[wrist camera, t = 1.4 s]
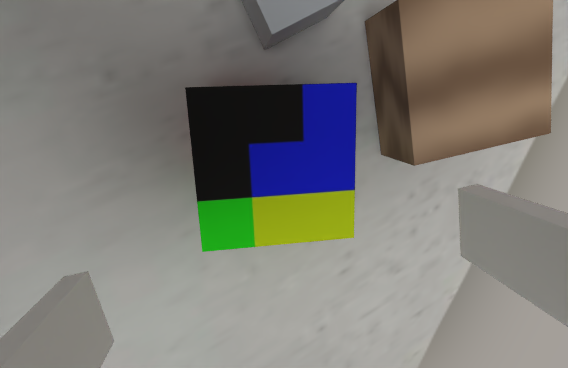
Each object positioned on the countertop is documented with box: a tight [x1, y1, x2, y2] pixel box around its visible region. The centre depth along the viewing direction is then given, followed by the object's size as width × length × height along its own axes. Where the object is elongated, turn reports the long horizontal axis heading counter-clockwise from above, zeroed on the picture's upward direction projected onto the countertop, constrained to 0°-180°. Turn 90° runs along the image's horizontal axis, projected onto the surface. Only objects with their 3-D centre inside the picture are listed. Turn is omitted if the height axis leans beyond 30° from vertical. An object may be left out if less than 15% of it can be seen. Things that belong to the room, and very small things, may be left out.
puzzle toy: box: [185, 83, 357, 252], centre depth 25 cm, size 10×10×10 cm
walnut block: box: [365, 0, 553, 166], centre depth 27 cm, size 12×12×6 cm
